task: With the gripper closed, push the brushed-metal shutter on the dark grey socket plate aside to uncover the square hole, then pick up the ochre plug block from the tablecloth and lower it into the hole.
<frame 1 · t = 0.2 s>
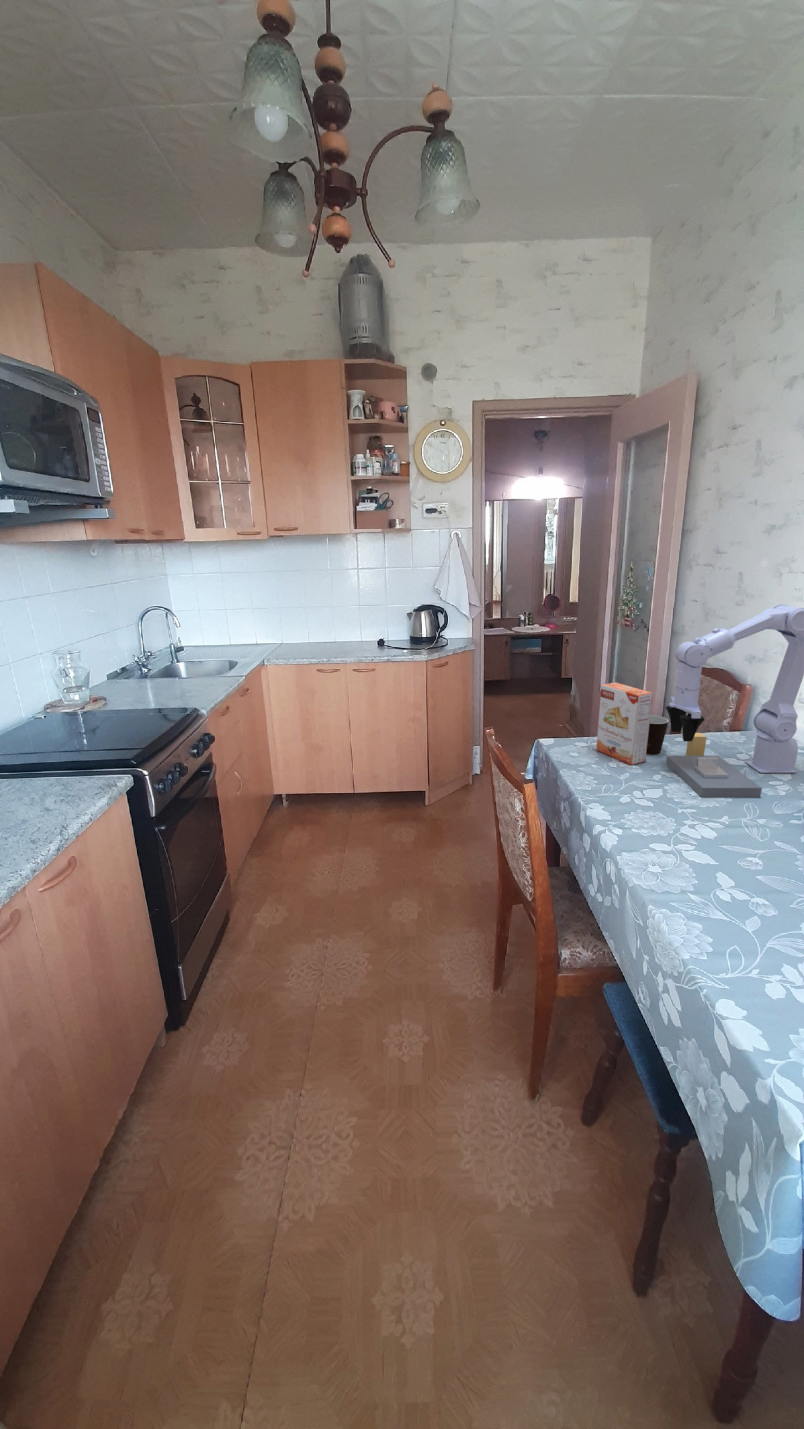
hand: (681, 736, 154), 10 cm above the table, tool pointing down, fingers open, 7 cm apart
plug: (694, 757, 165), on the table
shutter: (711, 767, 146), point 4 cm above the table, slide at 0.0 cm
cracker box: (619, 757, 167), on the table
socket plate: (709, 779, 149), on the table
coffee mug: (646, 749, 172), on the table
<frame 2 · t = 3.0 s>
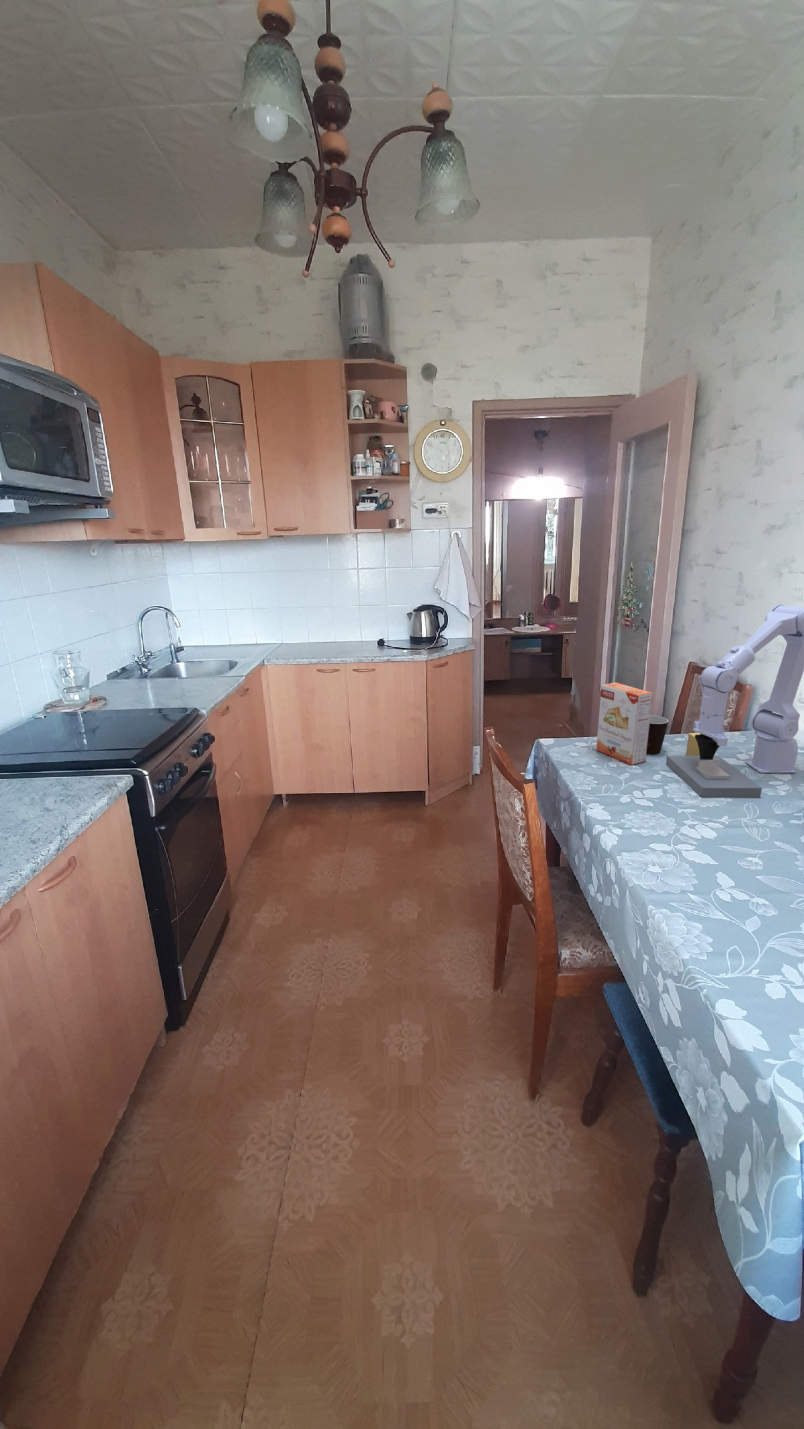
hand: (705, 762, 149), 4 cm above the table, tool pointing down, fingers closed
shutter: (712, 768, 146), point 4 cm above the table, slide at 0.7 cm, touching gripper
everything else where it was.
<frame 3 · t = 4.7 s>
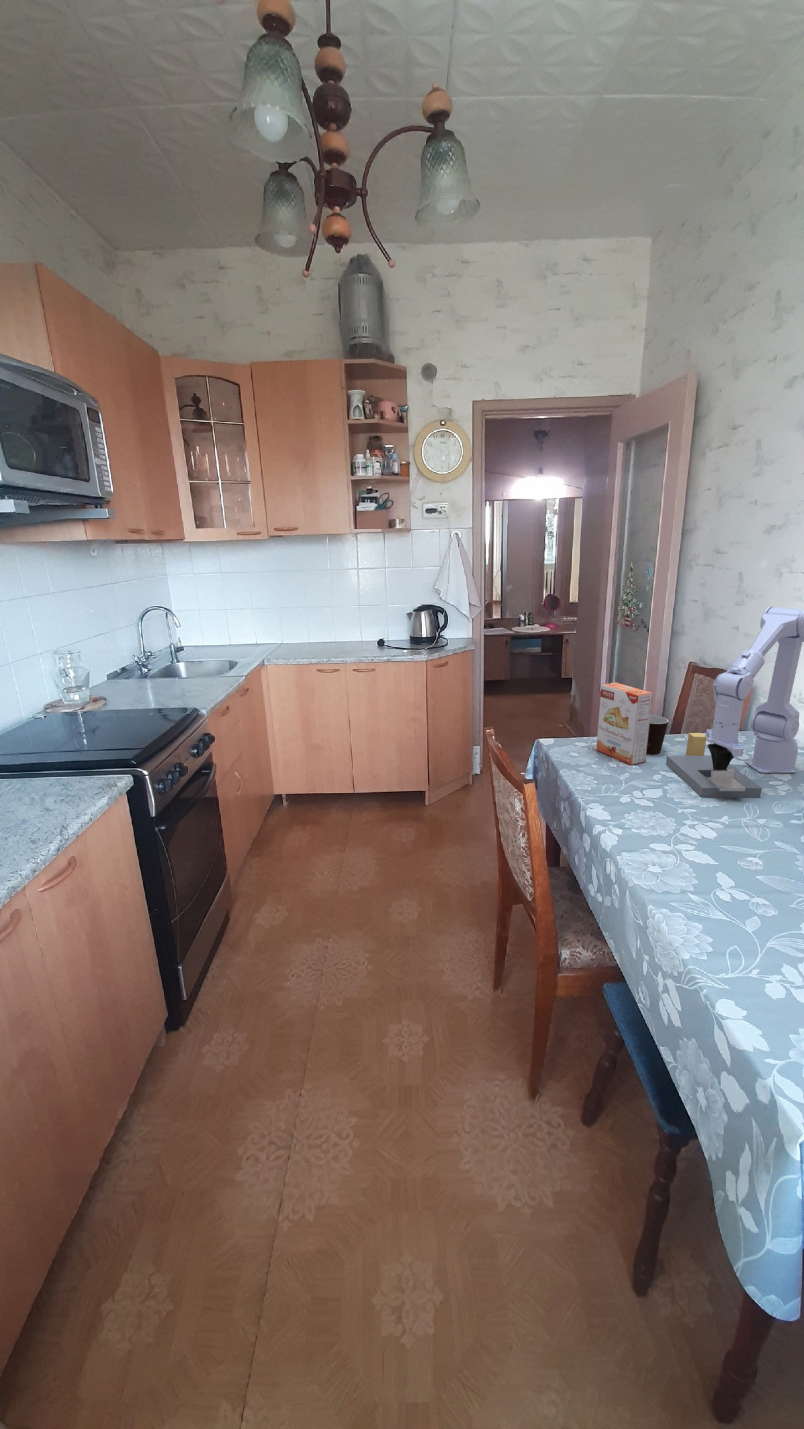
hand: (719, 773, 142), 4 cm above the table, tool pointing down, fingers closed
shutter: (727, 779, 139), point 4 cm above the table, slide at 8.1 cm, touching gripper
everything else where it was.
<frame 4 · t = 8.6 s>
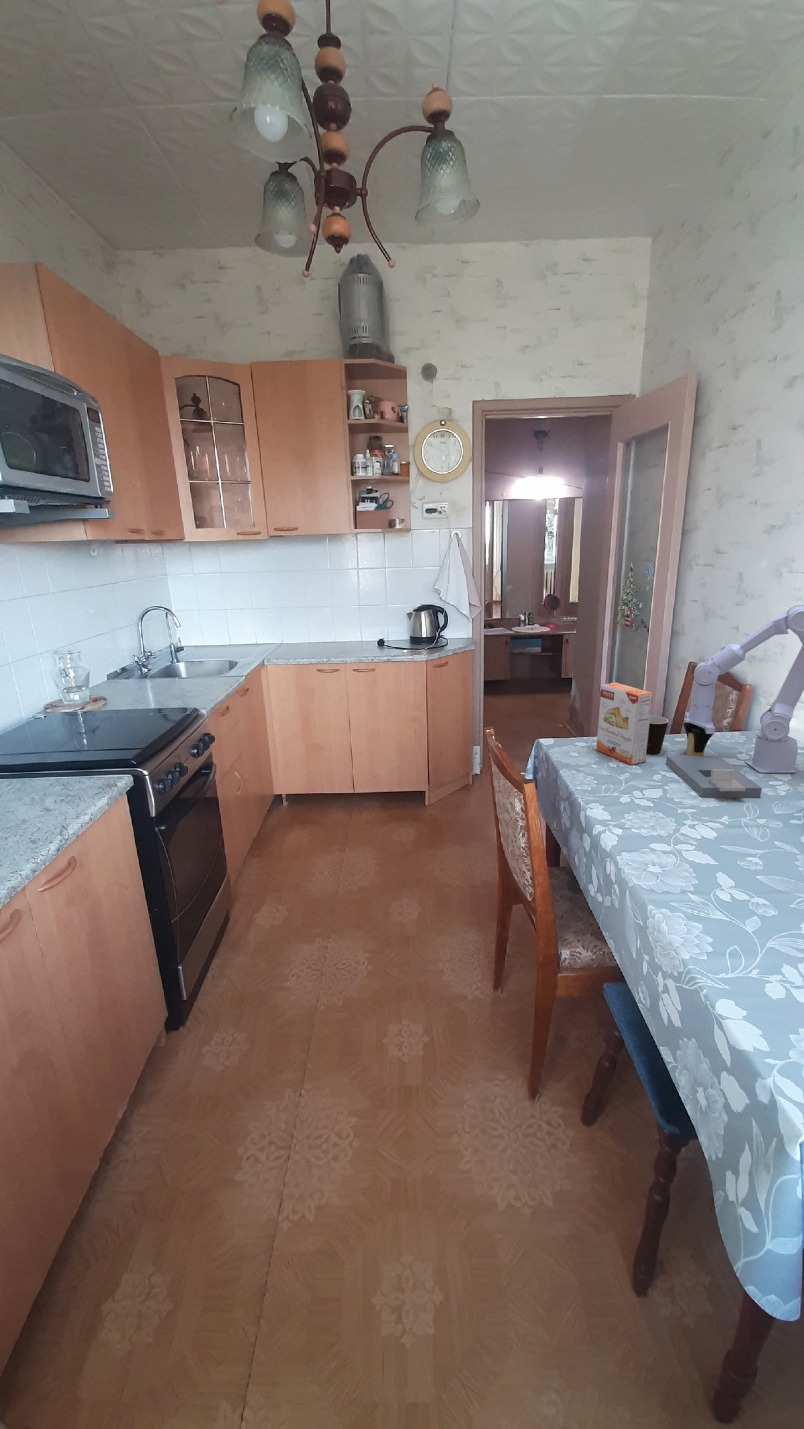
hand: (695, 749, 164), 2 cm above the table, tool pointing down, fingers closed on plug, 3 cm apart
plug: (694, 757, 165), on the table, touching gripper
shutter: (727, 779, 139), point 4 cm above the table, slide at 8.1 cm
everything else where it was.
when the fingers open (4 cm above the table, at t = 12.5 s): plug stays where it is, resting in socket plate.
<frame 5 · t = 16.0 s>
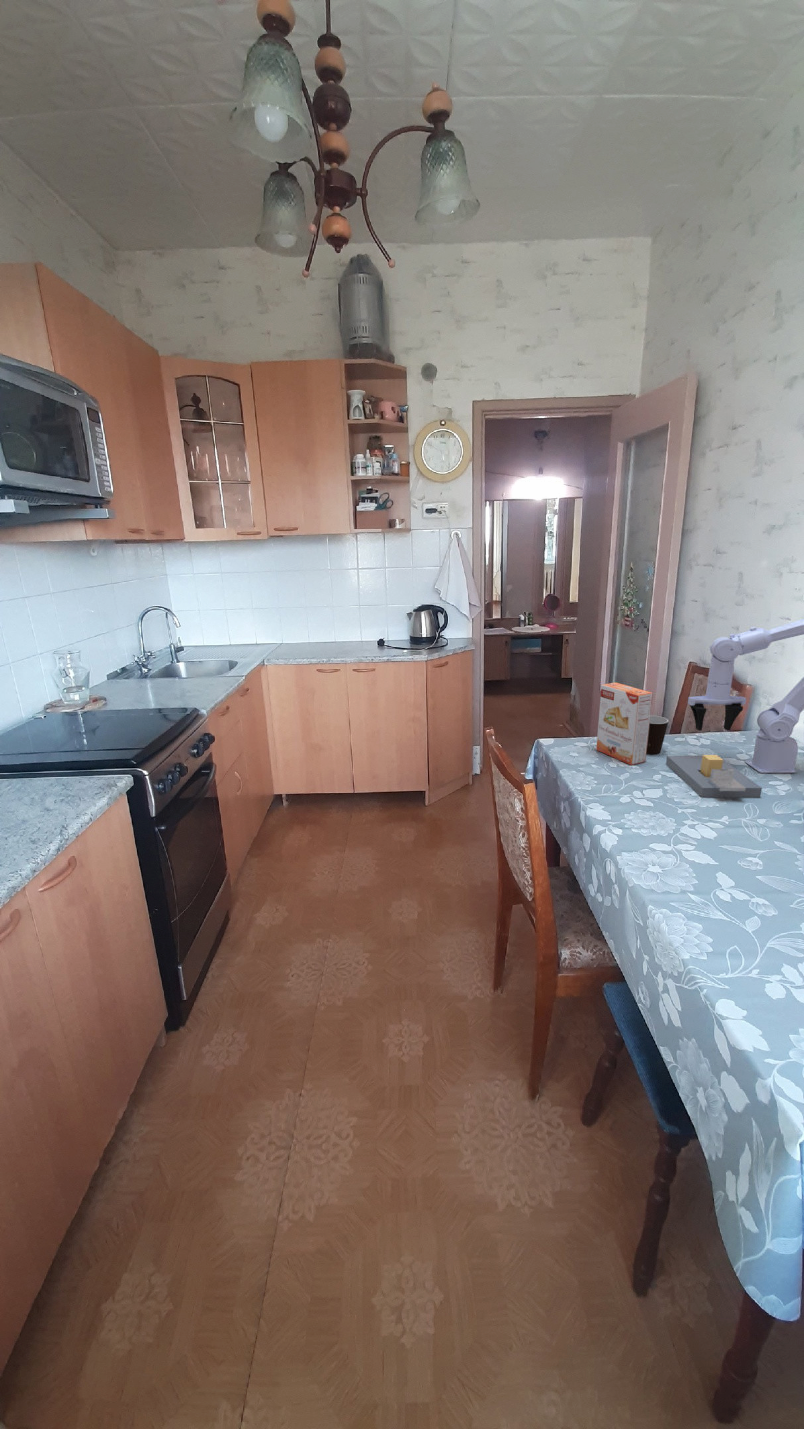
hand: (712, 729, 158), 10 cm above the table, tool pointing down, fingers open, 7 cm apart
plug: (709, 782, 148), resting in socket plate
everything else where it was.
at the end: plug 0.1 cm from the target spot, resting in socket plate; shutter slide at 8.1 cm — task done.
